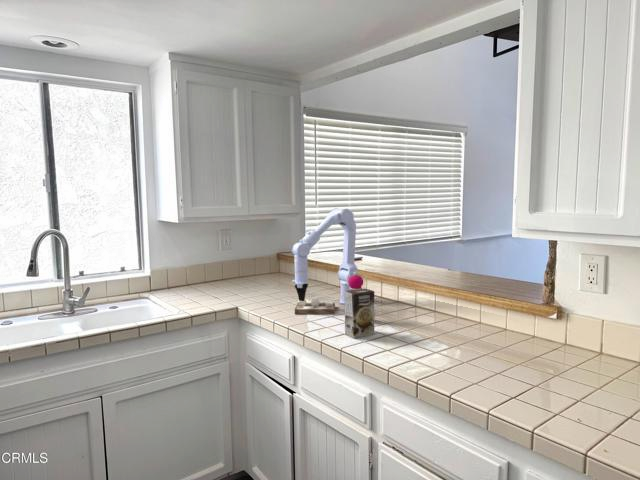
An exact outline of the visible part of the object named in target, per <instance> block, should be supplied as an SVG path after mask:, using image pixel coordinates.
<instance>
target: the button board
mask: <svg viewBox="0 0 640 480" xmlns="http://www.w3.org/2000/svg"><path fill="white" fill-rule="evenodd" d="M325 303H326V302H319V306H312V302H306V306H298V302H297V303H296V306H295V308H294V315H335V311H336V302H333V306H325Z"/></svg>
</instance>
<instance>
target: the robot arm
mask: <svg viewBox="0 0 640 480" xmlns="http://www.w3.org/2000/svg"><path fill="white" fill-rule="evenodd" d="M337 224H339V226H340V227H341V228H343V243H342V245H343V248H342V249H343V250H342V263H340V265H339V270H338V271H337V279H338V280H339V282H340V299H339V304H340V305H345V291H349V290H350V286H349V284H348V280H349V278H350V277H351V276H354V274H353V273H354V272H358V276H360V274H359V269H358V266H357V265H356V264H355V258H356V257H355V254H356V237H357V235H356V234H357V224H356V221H355V218H354V213H353V212H352V211H351V210H350V209H349V208H338V207H336V208H333V209H332V210H331V211H330V212H328V214H327V216H326V217H325V218H324V219H323V220H322V221H321V223H320V224H318V226H317V227H316V228H315V229H314V230H310V231H307V232H306V234H305V235H304V237H303V238H301V239H300V240H299V241H298V242H296V243H295V244H294V245H293V246H292V248H291V253H292V254H293V255H294V260H293V261H294V279H292V281H291V282H292V283H295V284H294V289H295V290H296V293H297V296H298V300H299V301H304V300H306V294H307V288H308V286H309V275H308V274H309V273H308V272H309V270H308V265H309V264H308V263H309V262H308V260H309V259H308V256H309V255H310V252H311V249H312V248H313V247H314V246H316V245H317V243H319V241H320V240H321V235H323V234H324V233H325V232H326V231H327V230H329V228H330V227H332V226H333V225H337Z"/></svg>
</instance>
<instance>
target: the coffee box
mask: <svg viewBox="0 0 640 480" xmlns="http://www.w3.org/2000/svg"><path fill="white" fill-rule="evenodd" d="M344 334H345V335H346V336H349V337H351V338H352V339H356V338H363V337H369V336H372V335H375V290H372V289H367V288H362V289H357V290H349V291H345V304H344Z"/></svg>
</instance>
